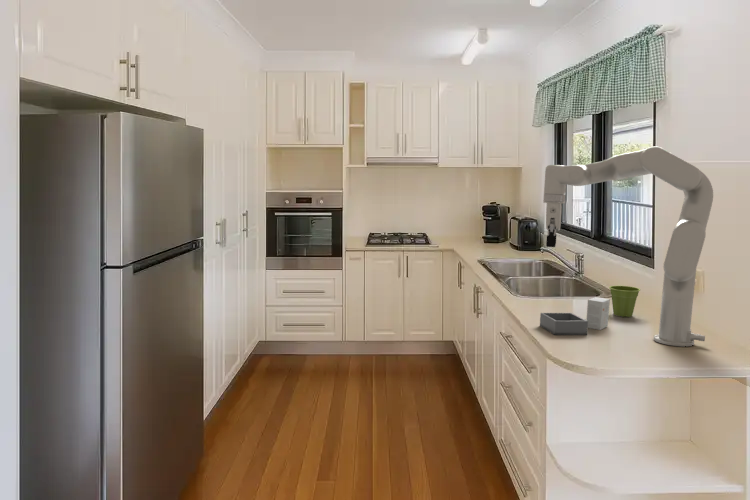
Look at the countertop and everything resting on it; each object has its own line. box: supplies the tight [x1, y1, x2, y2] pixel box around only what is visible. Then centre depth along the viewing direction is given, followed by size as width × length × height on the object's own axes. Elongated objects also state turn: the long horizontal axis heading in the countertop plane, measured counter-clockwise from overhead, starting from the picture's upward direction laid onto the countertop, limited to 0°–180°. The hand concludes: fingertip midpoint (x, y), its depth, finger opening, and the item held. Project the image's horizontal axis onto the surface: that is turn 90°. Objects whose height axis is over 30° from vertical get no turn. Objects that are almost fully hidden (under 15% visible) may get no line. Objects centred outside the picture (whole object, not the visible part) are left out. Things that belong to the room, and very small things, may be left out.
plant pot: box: [608, 285, 641, 318], centre depth 252 cm, size 12×12×11 cm
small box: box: [586, 296, 611, 331], centre depth 230 cm, size 8×6×10 cm
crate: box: [539, 312, 589, 336], centre depth 223 cm, size 12×13×5 cm
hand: (551, 245), depth 228 cm, fingers open, 9 cm apart
